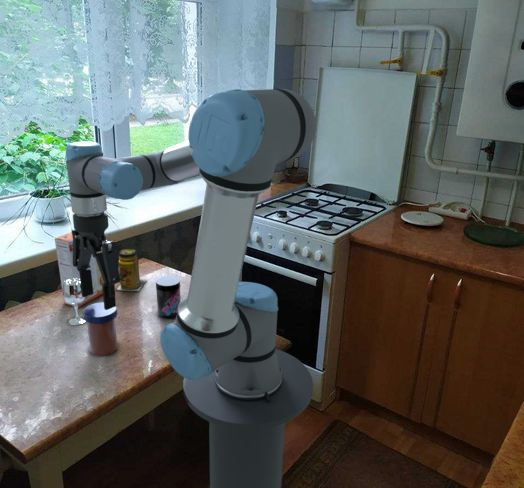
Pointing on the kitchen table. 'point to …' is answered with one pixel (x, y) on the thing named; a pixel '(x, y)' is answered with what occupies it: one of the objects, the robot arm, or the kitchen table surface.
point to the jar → (102, 338)
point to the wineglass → (73, 297)
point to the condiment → (129, 271)
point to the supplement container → (168, 296)
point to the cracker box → (69, 271)
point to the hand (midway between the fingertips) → (98, 301)
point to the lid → (99, 313)
